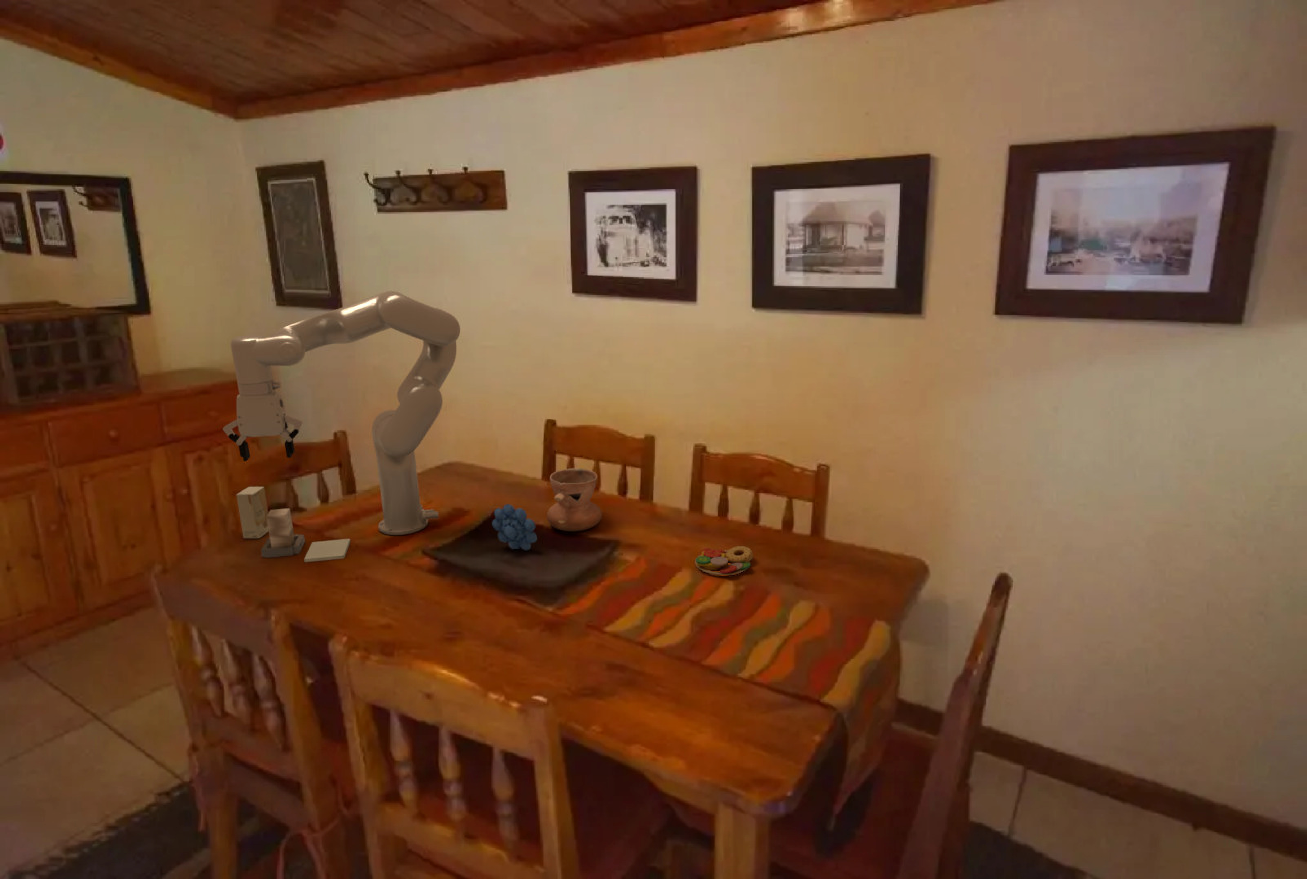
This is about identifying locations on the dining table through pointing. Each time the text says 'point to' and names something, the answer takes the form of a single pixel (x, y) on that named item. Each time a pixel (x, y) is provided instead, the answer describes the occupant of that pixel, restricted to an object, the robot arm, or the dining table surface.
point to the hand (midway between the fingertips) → (268, 457)
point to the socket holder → (283, 548)
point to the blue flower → (514, 527)
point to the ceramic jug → (573, 500)
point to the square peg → (280, 528)
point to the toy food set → (724, 560)
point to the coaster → (327, 550)
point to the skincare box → (253, 512)
